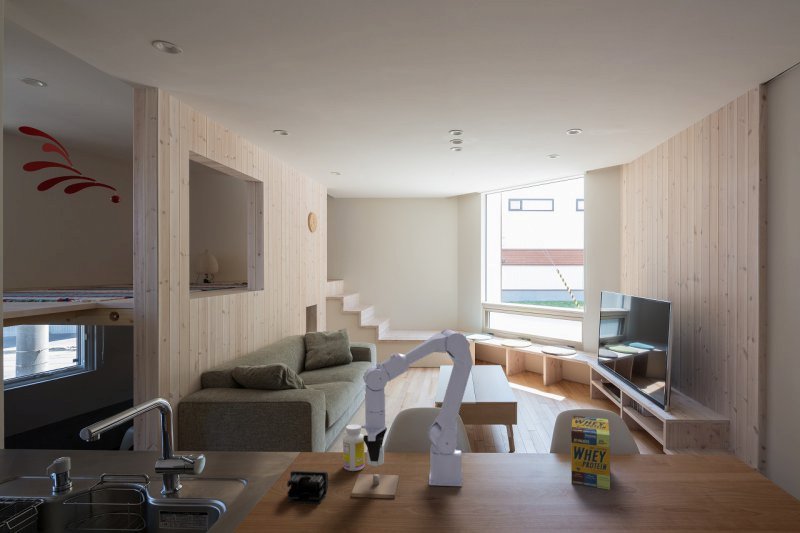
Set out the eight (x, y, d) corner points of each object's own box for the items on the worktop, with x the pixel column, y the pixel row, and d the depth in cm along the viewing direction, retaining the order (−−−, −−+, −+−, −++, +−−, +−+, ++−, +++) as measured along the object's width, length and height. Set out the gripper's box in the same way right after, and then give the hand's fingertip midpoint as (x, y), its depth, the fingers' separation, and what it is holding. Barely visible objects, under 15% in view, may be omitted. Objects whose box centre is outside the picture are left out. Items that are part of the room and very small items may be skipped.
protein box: (571, 484, 137) (570, 430, 137) (573, 463, 151) (572, 414, 151) (610, 490, 133) (610, 435, 133) (609, 468, 148) (608, 418, 148)
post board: (399, 478, 142) (398, 467, 142) (394, 498, 130) (394, 485, 130) (359, 477, 143) (359, 466, 143) (351, 496, 131) (351, 484, 131)
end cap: (328, 491, 134) (328, 467, 134) (322, 504, 127) (322, 479, 127) (294, 490, 135) (293, 466, 135) (285, 503, 128) (285, 478, 128)
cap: (384, 459, 139) (384, 443, 139) (382, 465, 134) (382, 449, 134) (369, 458, 139) (368, 442, 139) (366, 465, 135) (366, 448, 135)
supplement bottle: (366, 463, 153) (365, 423, 153) (362, 472, 147) (362, 430, 147) (345, 462, 154) (345, 423, 154) (341, 471, 147) (340, 430, 147)
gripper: (365, 402, 144) (366, 447, 144) (356, 417, 130) (357, 467, 130) (388, 402, 144) (389, 447, 144) (382, 418, 129) (382, 468, 129)
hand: (375, 457), depth 137 cm, fingers closed on cap, 5 cm apart
